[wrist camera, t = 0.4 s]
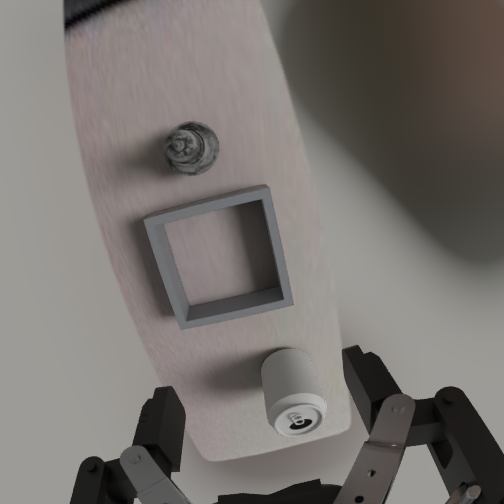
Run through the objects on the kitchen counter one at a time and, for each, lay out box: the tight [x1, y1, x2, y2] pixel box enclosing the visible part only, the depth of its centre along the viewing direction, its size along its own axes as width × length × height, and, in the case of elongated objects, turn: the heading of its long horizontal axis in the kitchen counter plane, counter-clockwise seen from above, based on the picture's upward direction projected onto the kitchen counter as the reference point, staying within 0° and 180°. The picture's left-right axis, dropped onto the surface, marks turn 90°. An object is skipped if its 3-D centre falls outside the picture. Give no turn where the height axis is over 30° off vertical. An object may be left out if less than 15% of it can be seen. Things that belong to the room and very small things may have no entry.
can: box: [261, 349, 327, 438], centre depth 38 cm, size 8×8×12 cm
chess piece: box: [164, 121, 219, 176], centre depth 29 cm, size 6×6×12 cm
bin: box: [144, 184, 294, 330], centre depth 36 cm, size 14×14×4 cm
